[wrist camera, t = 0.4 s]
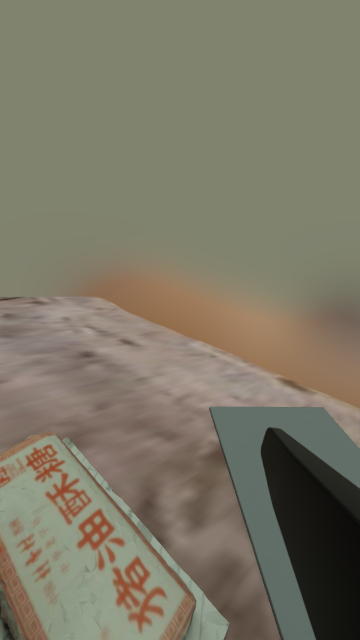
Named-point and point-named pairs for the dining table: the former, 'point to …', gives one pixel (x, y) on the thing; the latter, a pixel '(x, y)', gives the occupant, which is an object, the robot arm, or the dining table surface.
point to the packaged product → (85, 558)
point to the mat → (254, 499)
